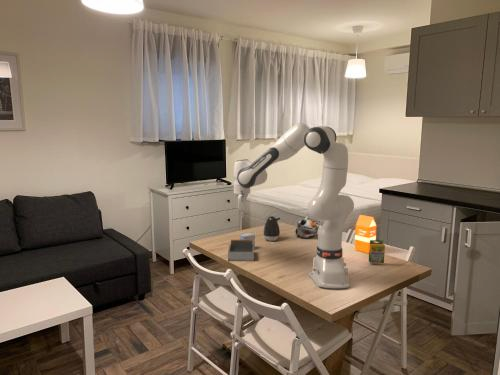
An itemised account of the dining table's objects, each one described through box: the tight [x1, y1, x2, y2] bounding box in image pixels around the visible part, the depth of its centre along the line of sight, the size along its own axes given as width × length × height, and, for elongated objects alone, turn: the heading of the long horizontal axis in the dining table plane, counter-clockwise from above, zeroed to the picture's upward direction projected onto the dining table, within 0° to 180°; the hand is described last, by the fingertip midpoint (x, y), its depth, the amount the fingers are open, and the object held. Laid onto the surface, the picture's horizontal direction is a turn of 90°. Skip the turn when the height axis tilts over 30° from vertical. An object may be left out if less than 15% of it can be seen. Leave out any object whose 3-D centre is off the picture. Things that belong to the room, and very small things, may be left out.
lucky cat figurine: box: [294, 218, 320, 239], centre depth 243 cm, size 15×12×14 cm
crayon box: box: [368, 239, 386, 264], centre depth 198 cm, size 7×3×12 cm, turn 89°
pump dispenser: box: [263, 215, 281, 242], centre depth 237 cm, size 10×10×15 cm
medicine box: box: [239, 232, 256, 250], centre depth 219 cm, size 8×4×9 cm, turn 130°
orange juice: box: [354, 214, 377, 254], centre depth 218 cm, size 8×9×20 cm
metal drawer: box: [227, 239, 255, 262], centre depth 206 cm, size 14×14×8 cm
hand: (242, 215), depth 203 cm, fingers open, 8 cm apart
